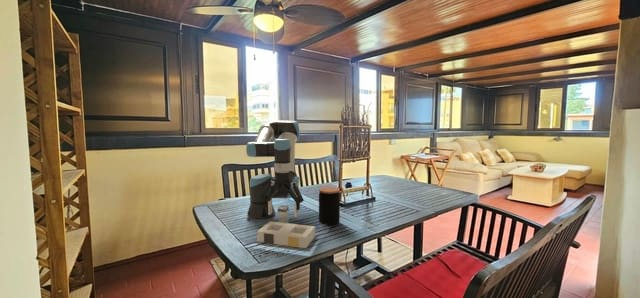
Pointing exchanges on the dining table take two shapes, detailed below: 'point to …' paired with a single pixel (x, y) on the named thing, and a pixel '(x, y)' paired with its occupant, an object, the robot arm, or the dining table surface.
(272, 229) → the port box
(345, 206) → the dining table surface
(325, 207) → the coffee jar
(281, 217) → the plug
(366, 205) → the dining table surface
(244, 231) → the dining table surface
